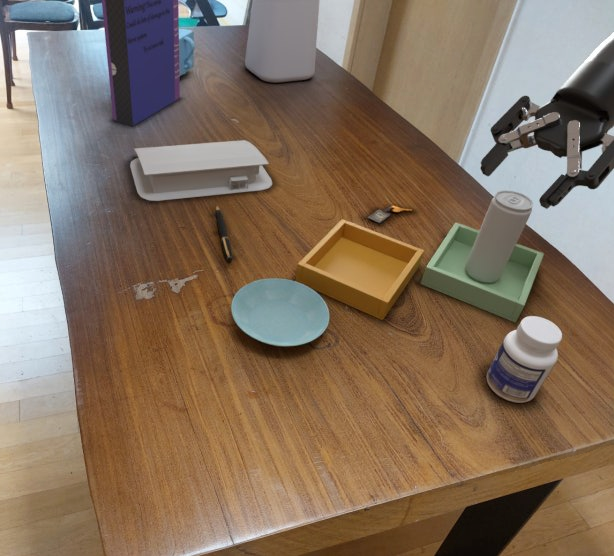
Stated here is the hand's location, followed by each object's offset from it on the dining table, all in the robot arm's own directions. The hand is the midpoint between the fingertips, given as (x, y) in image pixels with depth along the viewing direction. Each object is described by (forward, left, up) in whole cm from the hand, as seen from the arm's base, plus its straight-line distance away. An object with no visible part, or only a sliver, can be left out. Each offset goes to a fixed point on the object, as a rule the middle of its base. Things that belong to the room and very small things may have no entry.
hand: (512, 188), depth 66 cm
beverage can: (-1, -1, -14) cm, 14 cm away
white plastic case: (+47, 0, -15) cm, 50 cm away
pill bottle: (-9, +17, -15) cm, 24 cm away
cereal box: (+72, -15, -15) cm, 75 cm away
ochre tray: (+13, +9, -15) cm, 22 cm away
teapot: (+83, -33, -15) cm, 91 cm away
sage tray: (-1, -1, -15) cm, 15 cm away
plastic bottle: (+63, -54, -15) cm, 85 cm away
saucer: (+17, +24, -15) cm, 33 cm away
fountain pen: (+33, +13, -15) cm, 39 cm away
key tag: (+15, -8, -15) cm, 23 cm away
